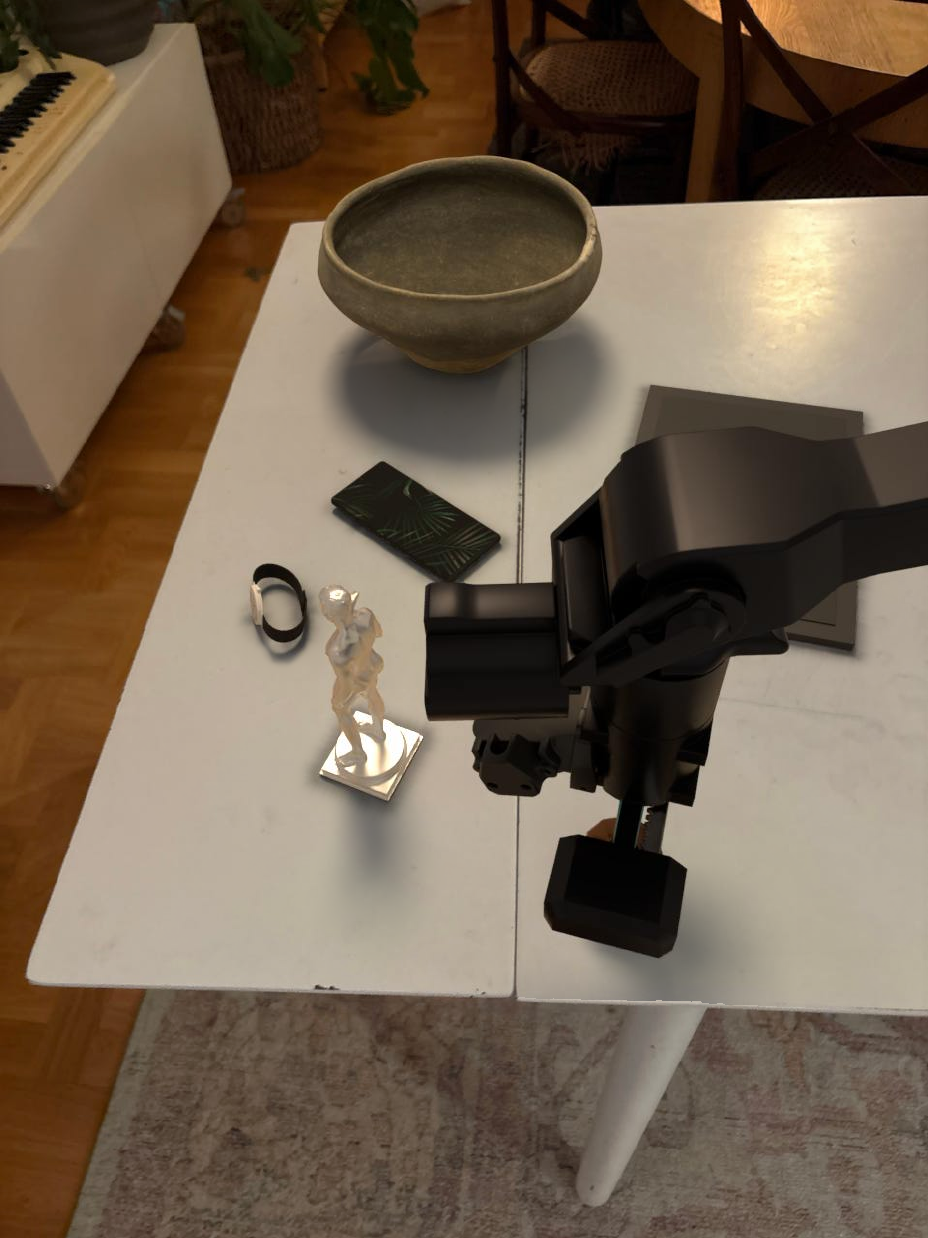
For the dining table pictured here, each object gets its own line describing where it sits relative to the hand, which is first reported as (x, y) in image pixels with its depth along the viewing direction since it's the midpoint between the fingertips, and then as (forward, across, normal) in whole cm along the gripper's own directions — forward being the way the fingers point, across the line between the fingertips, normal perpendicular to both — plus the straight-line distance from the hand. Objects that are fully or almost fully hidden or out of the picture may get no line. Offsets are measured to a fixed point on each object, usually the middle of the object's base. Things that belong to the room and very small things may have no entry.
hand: (627, 832), depth 54 cm
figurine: (+8, -6, -19) cm, 21 cm away
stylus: (+7, 0, 0) cm, 7 cm away
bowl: (+8, -55, -27) cm, 62 cm away
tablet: (+8, -37, +4) cm, 38 cm away
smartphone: (+8, -28, -24) cm, 37 cm away
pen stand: (+8, 0, 0) cm, 8 cm away
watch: (+8, -16, -31) cm, 36 cm away
